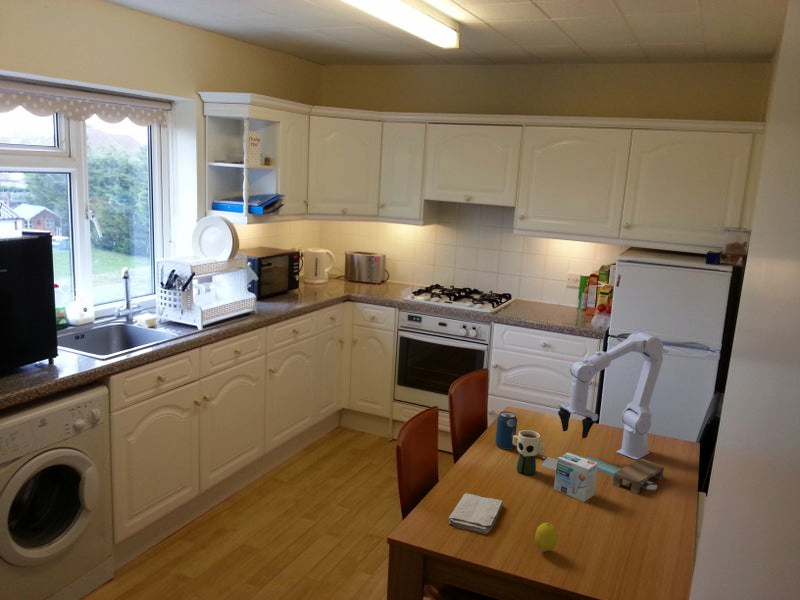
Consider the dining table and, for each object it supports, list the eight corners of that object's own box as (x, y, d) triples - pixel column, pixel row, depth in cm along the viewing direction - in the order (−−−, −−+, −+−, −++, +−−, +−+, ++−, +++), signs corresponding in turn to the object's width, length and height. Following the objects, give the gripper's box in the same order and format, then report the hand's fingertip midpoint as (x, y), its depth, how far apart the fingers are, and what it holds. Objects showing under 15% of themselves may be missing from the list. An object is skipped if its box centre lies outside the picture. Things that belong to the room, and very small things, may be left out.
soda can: (516, 450, 231) (519, 418, 229) (496, 449, 231) (499, 417, 229) (513, 442, 238) (516, 411, 236) (493, 441, 238) (496, 410, 236)
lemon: (531, 545, 172) (534, 517, 170) (551, 545, 172) (555, 517, 171) (537, 557, 167) (540, 528, 165) (558, 557, 167) (561, 529, 166)
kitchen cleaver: (512, 457, 224) (524, 446, 233) (512, 460, 225) (524, 449, 233) (581, 479, 211) (591, 467, 219) (581, 482, 212) (591, 470, 220)
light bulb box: (552, 489, 204) (556, 457, 202) (563, 483, 209) (567, 451, 207) (584, 502, 197) (588, 469, 195) (594, 495, 202) (598, 462, 199)
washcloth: (446, 527, 179) (447, 516, 179) (463, 498, 196) (464, 488, 195) (489, 537, 175) (490, 526, 175) (502, 507, 192) (503, 497, 191)
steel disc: (644, 482, 213) (645, 479, 213) (659, 488, 209) (660, 485, 209) (637, 487, 209) (637, 483, 209) (652, 493, 206) (652, 489, 206)
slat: (589, 460, 227) (589, 456, 227) (637, 480, 215) (638, 475, 214) (580, 465, 224) (580, 460, 223) (629, 485, 211) (629, 479, 211)
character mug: (506, 470, 215) (509, 433, 212) (514, 463, 221) (517, 426, 218) (538, 480, 210) (542, 441, 207) (545, 472, 216) (549, 434, 213)
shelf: (639, 469, 222) (641, 458, 221) (662, 478, 216) (664, 466, 215) (613, 484, 209) (614, 472, 209) (636, 494, 204) (638, 482, 203)
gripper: (554, 393, 227) (550, 430, 229) (591, 405, 217) (587, 443, 219) (565, 389, 232) (561, 425, 234) (602, 400, 222) (598, 438, 224)
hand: (574, 434), depth 227 cm, fingers open, 7 cm apart
